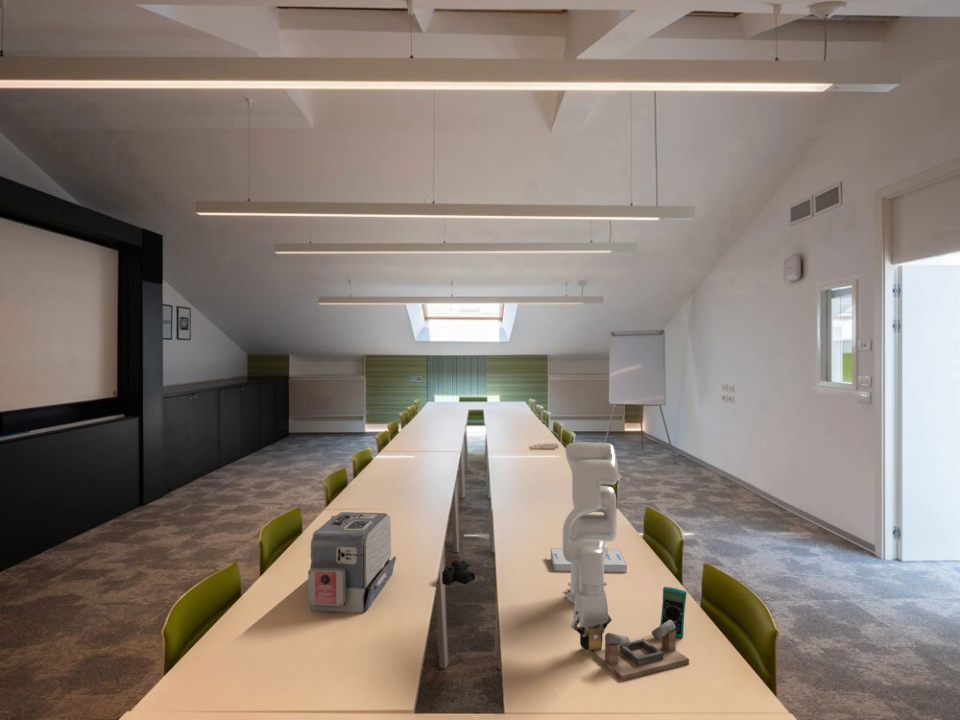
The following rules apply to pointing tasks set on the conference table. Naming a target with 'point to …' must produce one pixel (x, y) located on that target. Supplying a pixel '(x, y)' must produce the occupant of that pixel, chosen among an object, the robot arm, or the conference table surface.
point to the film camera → (457, 573)
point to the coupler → (593, 640)
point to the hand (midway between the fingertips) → (591, 645)
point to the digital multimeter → (674, 608)
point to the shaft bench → (641, 653)
